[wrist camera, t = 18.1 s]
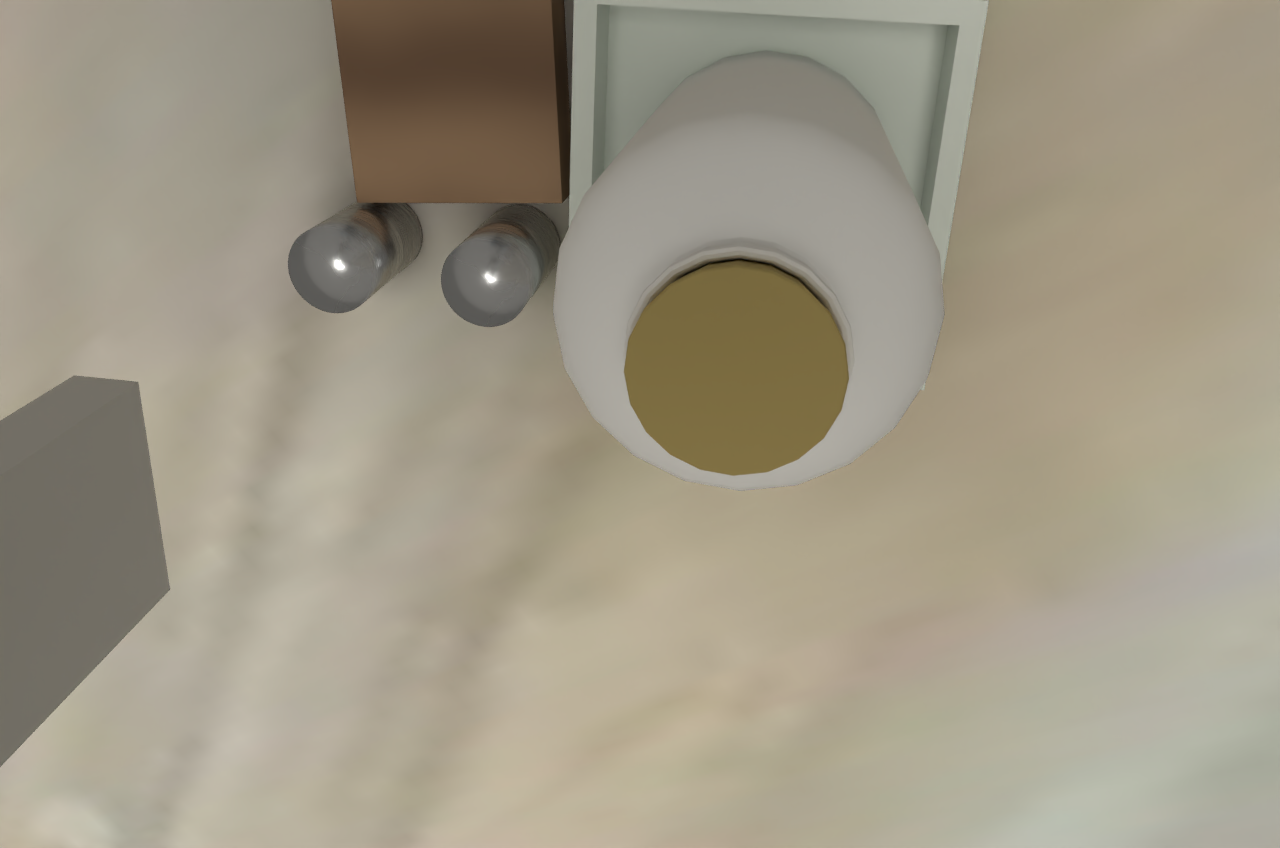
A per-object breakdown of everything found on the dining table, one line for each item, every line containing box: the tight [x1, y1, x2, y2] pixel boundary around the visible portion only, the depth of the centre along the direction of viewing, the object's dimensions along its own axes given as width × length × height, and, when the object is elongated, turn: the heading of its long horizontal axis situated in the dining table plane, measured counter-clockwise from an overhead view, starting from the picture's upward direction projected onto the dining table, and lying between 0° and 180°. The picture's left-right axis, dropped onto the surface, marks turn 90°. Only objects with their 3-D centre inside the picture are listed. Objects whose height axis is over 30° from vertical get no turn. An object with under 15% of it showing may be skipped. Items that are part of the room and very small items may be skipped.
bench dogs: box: [288, 202, 560, 327], centre depth 37 cm, size 3×8×5 cm, turn 87°
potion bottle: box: [553, 50, 945, 491], centre depth 28 cm, size 8×8×18 cm
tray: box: [569, 0, 989, 390], centre depth 35 cm, size 12×12×3 cm
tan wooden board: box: [331, 0, 571, 203], centre depth 36 cm, size 10×7×2 cm
